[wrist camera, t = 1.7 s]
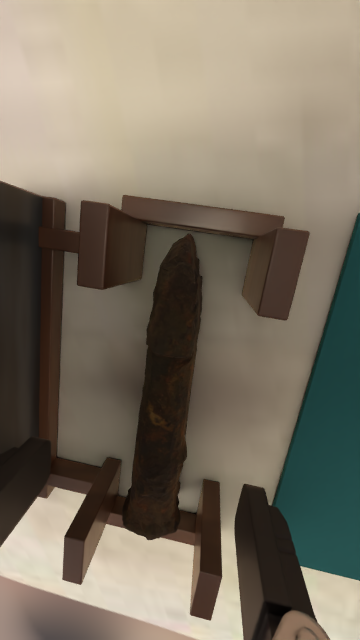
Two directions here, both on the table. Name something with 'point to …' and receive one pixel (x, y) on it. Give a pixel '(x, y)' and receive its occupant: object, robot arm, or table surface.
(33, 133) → the table surface
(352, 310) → the mat
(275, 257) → the rack
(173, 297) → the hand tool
